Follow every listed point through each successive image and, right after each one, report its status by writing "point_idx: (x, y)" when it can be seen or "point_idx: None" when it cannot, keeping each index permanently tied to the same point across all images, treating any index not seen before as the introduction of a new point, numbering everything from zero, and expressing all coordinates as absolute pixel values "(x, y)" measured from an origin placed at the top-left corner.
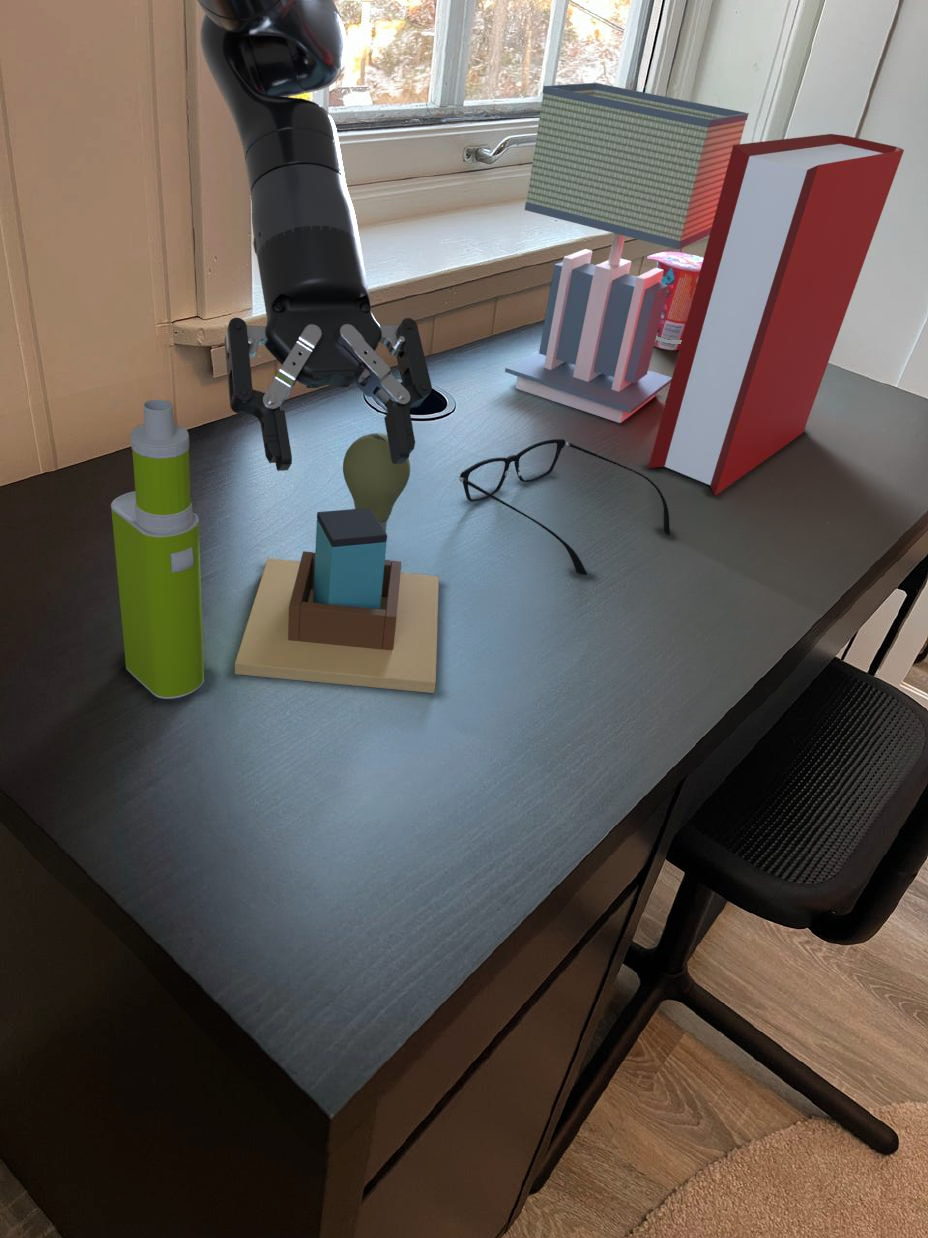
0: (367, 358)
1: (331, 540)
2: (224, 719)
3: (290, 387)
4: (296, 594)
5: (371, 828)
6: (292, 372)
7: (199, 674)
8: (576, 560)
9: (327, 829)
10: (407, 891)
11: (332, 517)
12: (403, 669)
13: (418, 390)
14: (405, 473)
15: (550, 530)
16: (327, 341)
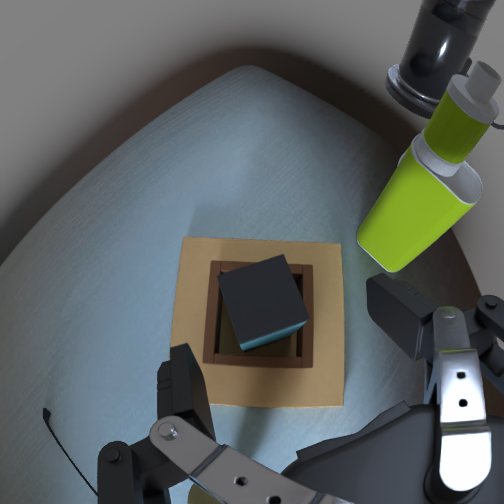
0: (266, 484)
1: (284, 256)
2: (332, 204)
3: (434, 357)
4: (309, 284)
5: (234, 137)
6: (451, 358)
7: (360, 227)
8: (45, 414)
9: (257, 135)
10: (218, 112)
11: (288, 307)
12: (207, 248)
13: (128, 449)
14: (193, 485)
15: (54, 436)
16: (404, 499)
